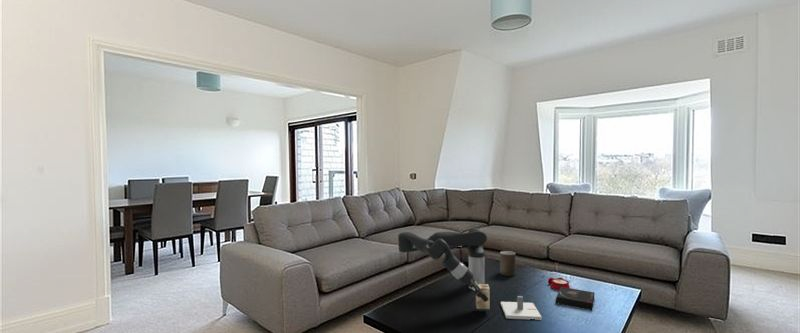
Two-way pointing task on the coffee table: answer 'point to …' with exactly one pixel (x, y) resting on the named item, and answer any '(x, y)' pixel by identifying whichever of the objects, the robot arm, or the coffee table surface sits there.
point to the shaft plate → (520, 310)
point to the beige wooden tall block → (479, 301)
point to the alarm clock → (558, 283)
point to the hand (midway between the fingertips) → (486, 297)
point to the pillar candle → (508, 263)
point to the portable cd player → (575, 298)
